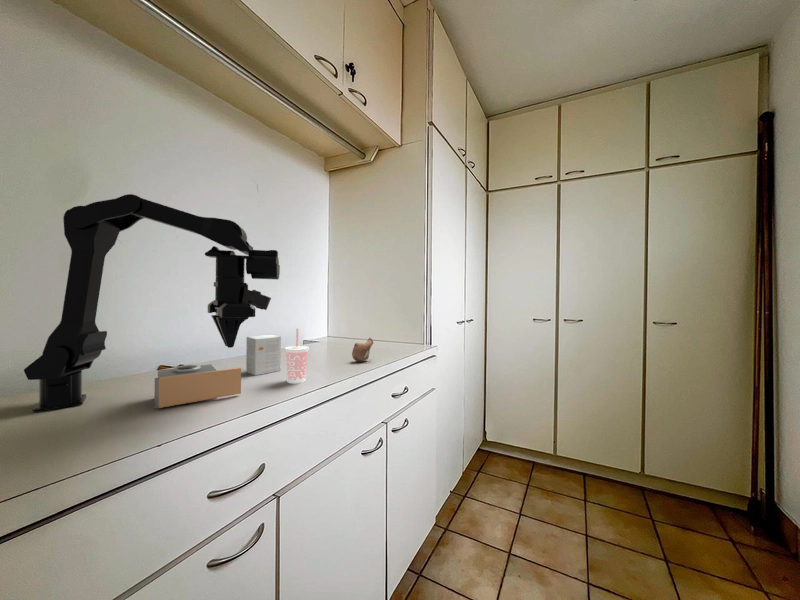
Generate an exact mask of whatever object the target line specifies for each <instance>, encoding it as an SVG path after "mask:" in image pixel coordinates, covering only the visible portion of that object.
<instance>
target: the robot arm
mask: <svg viewBox="0 0 800 600" xmlns="http://www.w3.org/2000/svg"><path fill="white" fill-rule="evenodd" d="M62 219H63V232H64V233H63V235H64V237H65V239H66V241H67V243H68V245H69V248H70V251H71V254H70V259H69V260H70V261H69V266H68V273H67V280H66V284H65V285H66V287H65V290H64V291H65V292H64V300H63V306H62V312H61V318H60V321H59V323H58V325H57V326H56V327H55V328H54V330H53V331H52V332H51V333H50V335H49V336H48V337H47V340H46V343H45V346H44V348H43V350H42V354H41V355H40V356H39V357H38V358H36V359H35V360H33V361H32V362H31V363H30V364H29V365H27V366H26V367H25V368H24V369H23V372H24V374H25V376H26V378H27V380H28V381H32V380H35V381H36V380H38V381H39V382H38V383H39V385H38V387H39V391H38V392H39V396H38V397H39V401H38V403H36V405H35V406H34V407H33V408H32V412H36V413H37V412H41V411H47V410H55V409H56V410H57V409H62V408H68V407H73V406H76V407H77V406H82V405H83V403H84V402H85V400H86V398H87V394H86V393H84V394H82V393H83V391H82V389H83V387H82V386H83V385H82V382H83V381H82V379H83V378H82V377H83V373H82V372H83V371H84V370H88V369H90V368H91V367H92V365H93V363H94V361H95V360H96V359H98V358H99V357H100V356H101V354H102V351H104V350H106V349H107V348H106V343H105V342H106V338H107V335H108V331H107V330H102V331H101V330H99V328H98V326H97V323H96V318H97V311H98V304H99V299H100V298H99V297H100V292H101V286H102V279H103V278H102V277H103V273H104V265H105V259H106V255H108V253H109V252H110V251H111V250H112V248H113V247H114V246H115V245H116V242H117V240H118V237H119V234H120V232H123V231H125V230H128V229H130V228H131V227H133V226H134V225H135V224H136V223H138V222H139V221H141V220H143V219H147V220H150V221H152V222H157V223H160V224H163V225H166V226H170V227H173V228H175V229H176V228H177V229H181V230H183V231H186V232H189V233H193V234H196V235H198V236H199V235H200V236H202V237H204V238H206V239H208V240H210V241H212V242H214V243H216V244H219V245H220V246H222V247H225V248H227V249H229V250H227V249H226V250H224V249H219V247H218V246H215V245H214V246H211V247H212V248H210V249H209V250H207V251H205V252H204V256H205V257H209V258H213V259H214V258H215V281H214V282H213V287H215V294H214V295H215V296H214V297H215V298H214V300H212V301H211V302H209V303H208V304H207V313H208V314H212V315H211V318H212V320H213V322H214V324H215V326H216V328H217V331H218V332H219V335H220V337H221V339H222V341H223V342H222V343H223V344H224V346H225V347H227V348H229V349H231V348H233V347H234V346H235V343H236V340H237V336H238V332H239V330H240V326H241V325H242V323H244V322H245V321H247V320H248V319H249V318H255V317H256V309H259V310H265V311H267V310H268V308H269V304H270V302H271V299H272V298H271V297H270V296H268V295H264V294H262V292H261V291H259V290H256V289H252V290H250V289H249V284H248V283H247V282H245V273H246V275H250V277H251V279H253V280H280V274H281V273H280V272H281V271H280V270H281V268H280V267H281V265H280V264H279V263H280V261H279V251H278V250H275V249H269V250H266V249H265V250H264V249H263V250H262V249H254V247H253V246H252V245H251V244H250V243H249V242H248V236H247V233H246V231H245V229H244V228H242V227H241V225H239V224H237V222H235V221H233V220H231V219H225V218H219V217H206V216H200V215H196V214H192V213H189V212H187V211H184V210H180V209H177V208H173V207H171V206H167V205H165V204H161V203H158V202H155V201H152V200H149V199H146V198H142V197H141V196H138V195H137V194H132V193H128V194H123V195H121V196H119V197H116V198H111V199H105V200H99V201H94V202H92V203H89V204H86V205H77V206H73V207H71V208H69V209H67V210H66V211H65V212H64V213H63V217H62ZM234 250H237V251H239V252H241V253H243V254H244V255H240V254H236V253H235V251H234ZM245 271H246V272H245ZM213 313H215V314H214V315H213Z"/></svg>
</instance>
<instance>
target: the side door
mask: <svg viewBox="0 0 800 600" xmlns="http://www.w3.org/2000/svg"><path fill="white" fill-rule="evenodd" d="M241 394H242V368H241V367H233V368H232V367H231V368H226V369H225V368H224V369H218V370H217V369H216V371H208V372H200V373H192V374H184V375H175V376H167V377H159V378H158V377H154V401H153V402H154V409H163V408H162V407H165V408H168V407H167V406H171V407H174V406H173V405H177V406H180V405H179V404H182V405H185V404H184V403H188V404H191V403H190V402H194V403H197V402H196V401H199V402H203V401H202V400H205V401H208V400H207V399H211V400H214V399H213V398H216V399H218V398H223V397H229V396H235V395H241Z"/></svg>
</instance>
